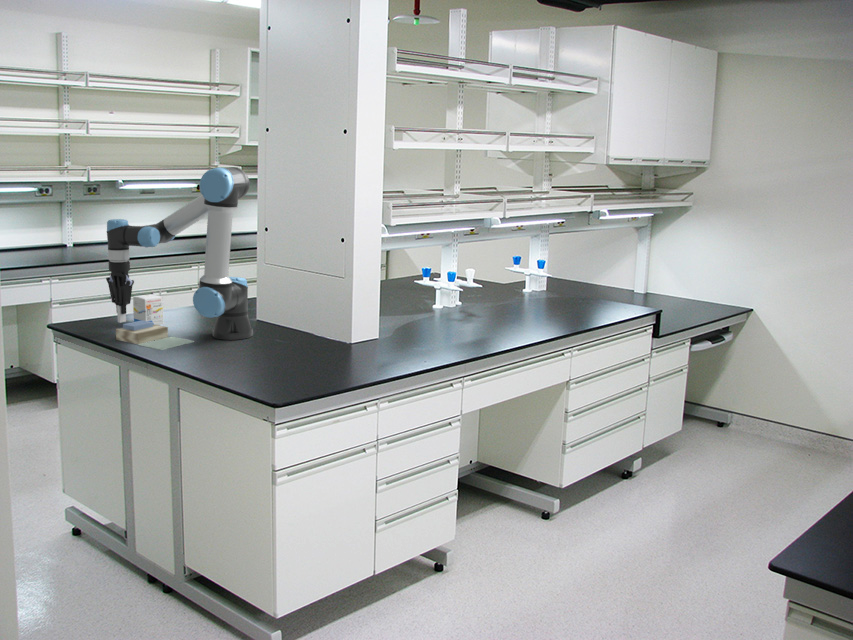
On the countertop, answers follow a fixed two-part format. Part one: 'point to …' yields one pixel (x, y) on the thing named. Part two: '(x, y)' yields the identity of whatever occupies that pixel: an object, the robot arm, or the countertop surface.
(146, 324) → the blue flat block
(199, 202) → the robot arm
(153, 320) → the ink box
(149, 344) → the mat
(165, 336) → the beige flat block
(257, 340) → the countertop surface
